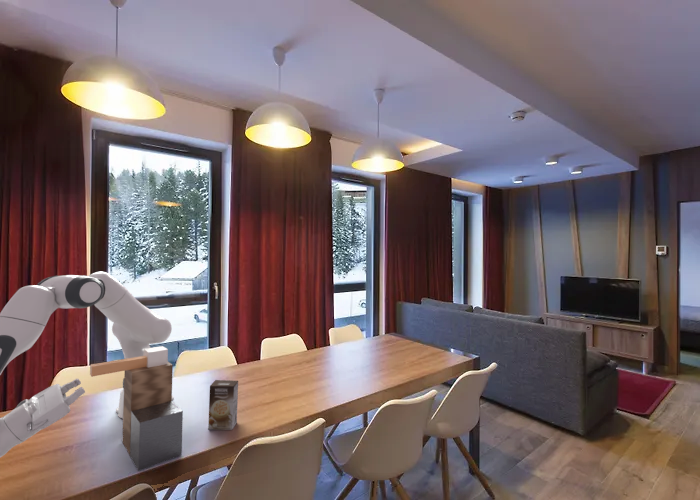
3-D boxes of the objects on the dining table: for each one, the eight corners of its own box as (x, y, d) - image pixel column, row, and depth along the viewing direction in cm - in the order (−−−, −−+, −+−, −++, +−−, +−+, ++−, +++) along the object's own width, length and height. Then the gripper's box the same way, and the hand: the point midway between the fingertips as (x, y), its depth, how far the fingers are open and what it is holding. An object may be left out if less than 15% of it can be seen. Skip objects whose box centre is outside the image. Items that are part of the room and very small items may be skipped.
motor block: (138, 471, 101) (139, 422, 101) (129, 455, 109) (131, 411, 109) (181, 455, 109) (182, 410, 110) (170, 442, 117) (172, 400, 117)
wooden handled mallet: (92, 377, 104) (92, 361, 104) (89, 373, 109) (89, 357, 109) (167, 364, 119) (167, 349, 119) (162, 360, 123) (162, 346, 123)
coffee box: (207, 430, 126) (208, 385, 126) (213, 421, 132) (214, 379, 132) (232, 430, 126) (233, 386, 126) (237, 421, 132) (238, 379, 133)
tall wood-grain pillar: (129, 455, 109) (132, 372, 110) (122, 442, 117) (124, 364, 117) (170, 441, 117) (172, 364, 118) (161, 430, 125) (163, 358, 126)
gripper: (19, 425, 88) (79, 386, 97) (19, 400, 103) (71, 368, 111) (35, 442, 90) (93, 403, 99) (33, 415, 105) (83, 383, 113)
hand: (81, 384), depth 105 cm, fingers open, 8 cm apart
